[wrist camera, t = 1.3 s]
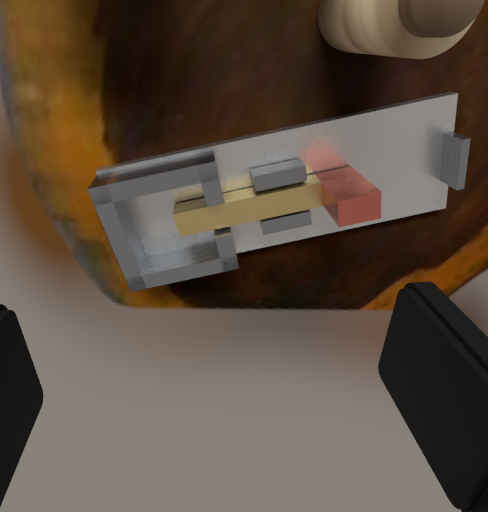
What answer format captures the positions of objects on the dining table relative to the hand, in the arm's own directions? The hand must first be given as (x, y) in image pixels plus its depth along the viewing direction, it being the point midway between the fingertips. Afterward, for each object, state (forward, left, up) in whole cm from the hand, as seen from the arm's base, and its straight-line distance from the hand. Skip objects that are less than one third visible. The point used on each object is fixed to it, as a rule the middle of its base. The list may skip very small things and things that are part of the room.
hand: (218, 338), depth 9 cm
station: (-6, +5, -23) cm, 24 cm away
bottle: (-12, -6, -23) cm, 26 cm away
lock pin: (-4, +5, -21) cm, 22 cm away
